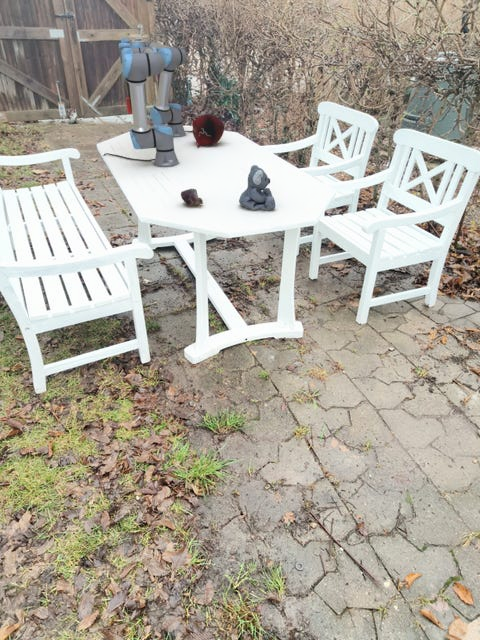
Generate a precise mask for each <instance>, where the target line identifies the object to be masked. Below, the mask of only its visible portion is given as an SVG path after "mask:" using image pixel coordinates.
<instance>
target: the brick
mask: <svg viewBox="0 0 480 640" xmlns="http://www.w3.org/2000/svg"><path fill="white" fill-rule="evenodd" d="M129 99H130V98H129V97H125V103H126V104H125V105H126V112H127V114H129V115H133V114H132V110H131V104H130V100H129Z"/></svg>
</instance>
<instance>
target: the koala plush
mask: <svg viewBox="0 0 480 640" xmlns="http://www.w3.org/2000/svg"><path fill="white" fill-rule="evenodd" d="M270 183H271V178H269V176H268V175H267V173H266V172H265V170H264V169H263V168H261V167H259V165H257V164H253V165H250V170H249V173H248V176H247V188H246V189H245V190H244V191H243V192H242V193H241V194H240V197H239V199H238V203H239V204H240V206H241V207H242V208H246V209H247V210H252V211H255V210H261V211H272V210H274V209H275V208H276V200H275V198H274V196H273V194H272V191H271V188H270V187H268V186H269V185H270Z"/></svg>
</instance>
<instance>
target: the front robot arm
mask: <svg viewBox="0 0 480 640" xmlns="http://www.w3.org/2000/svg"><path fill="white" fill-rule="evenodd" d="M118 51H119V58H120V68H121V76H122V78H124V79H125V84H126V88H127V96H128V98H130V99H129V100H130V104H131V110H132V114H131V115H132V122H133V123H132V125H131V129H130V130H129V136H130V140H131V143H132V147H133V148H134V150H147V149H155V155H154V158H153V159H139V158H132V157H126V156H124V155H119V154H115V153H114V154H112V153H109V152H106V153H103V155H102V156H103V157H104V156H106V155H109V156H114V157H118V158H123V159H127V160H132V161H142V162H152V161H154V165H155V166H157V167H163V168H164V167H165V168H167V167H168V168H169V167H174V166H177V165H178V164H179V159H178V157H177V153H176V151H175V143H174V137H173V131H172V128H171V127H169V126H168V125H164V124H154V125H153V126H152V127H151V125H150V124H149V123H148V112H147V111H148V110H147V101H146V100H147V99H146V87H145V83H146V82H147V80H148V79H147V78H150V77H155V76H158V75H160V73H161V72H162V71H163V69H164V67H165V60H164V58H163V57H162V55H160V54H159V53H157V50H156V48H155V47H140V48H139V47H137V48H131V46H130V44H129V43H121V42H120V43H118Z"/></svg>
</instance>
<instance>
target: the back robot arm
mask: <svg viewBox="0 0 480 640" xmlns="http://www.w3.org/2000/svg"><path fill="white" fill-rule="evenodd" d="M120 43H129V44H130V46H131V48H137V47H139V48H140V47H155V48H156V50H157V53H159V54H160V55H162V57H163V58H164V60H165V67H164V69H163V71H162V72H161V73H160V74H159V80H158V88H157V95H156V96H157V97H156V102H154V103H153V107H152V108H150V110H149V116H150V119H151V121H152V123H153V124H154V125H164V124H167V126H169V127H171V128H172V131H173V138H178V137H184V136H186V133H193V130H185V128H184V126H183V111H182V105H181V104H179V103H169V100H170V94H171V87H172V80H173V74H174V73H175V72H176V67H179V66H183V65H184V64H185V63H186V62H187V58H188V57H187V56H188V55H187V52H186V50H185V49H184V48H183V47H181V46H173V47H172V46H169V45H164V44H160V43H157V42H155V41H152V40H148V41H132V40H131V38H121V39H120Z"/></svg>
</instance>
